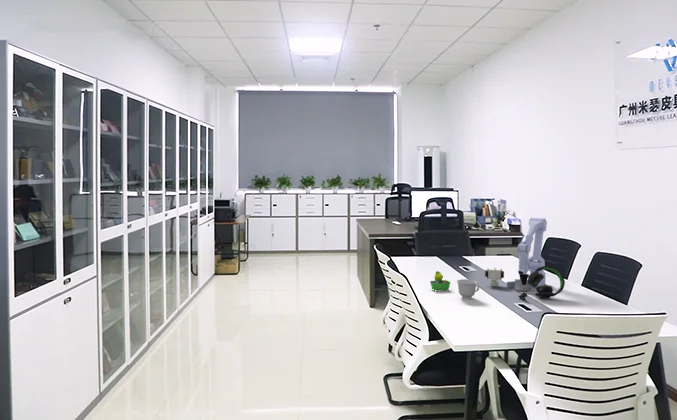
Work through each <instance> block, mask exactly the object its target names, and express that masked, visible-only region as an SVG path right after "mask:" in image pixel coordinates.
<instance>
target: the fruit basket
mask: <svg viewBox="0 0 677 420" xmlns="http://www.w3.org/2000/svg"><path fill="white" fill-rule="evenodd" d="M443 278H444V276H443V274H442V273H441V271H439V270H437V271H435V274H434V280H430V281H429V283H430V286H431V290H433V289H434V290H433V291H435V290H441V291H449V289H450V286H451V281H448V280H447V279H443Z"/></svg>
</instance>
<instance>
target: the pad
mask: <svg viewBox="0 0 677 420" xmlns="http://www.w3.org/2000/svg"><path fill="white" fill-rule="evenodd" d="M510 289H512V290H514V291H516V290H515V287H510ZM523 292H525V293H529V292H531V291H519V293H523ZM532 292H537V291H536V290H535V289H533V291H532Z"/></svg>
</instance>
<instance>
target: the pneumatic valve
mask: <svg viewBox="0 0 677 420" xmlns="http://www.w3.org/2000/svg"><path fill="white" fill-rule="evenodd" d="M484 277H485V278H486V279H487V280H490V281H489V285H490V286H492V287H498V286H499V282H500V281H502V279H504V278H505V271H504V270H502V268H496V267H493V268H490V267H489V268H487V269H485V271H484ZM498 280H499V281H498Z"/></svg>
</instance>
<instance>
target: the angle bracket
mask: <svg viewBox="0 0 677 420" xmlns="http://www.w3.org/2000/svg"><path fill="white" fill-rule="evenodd" d="M514 281H515V290H514V291H517V292H520V291H530V292H534V291H533V289H532V285H531V284H528V279H527V282H526V285H522V281H521V279H520V278H519V279H517V278H516V279H514Z"/></svg>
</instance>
